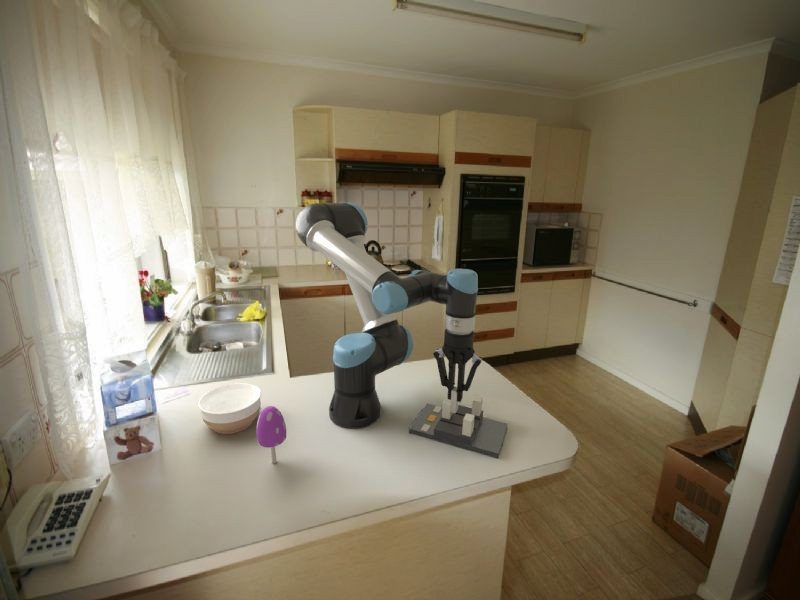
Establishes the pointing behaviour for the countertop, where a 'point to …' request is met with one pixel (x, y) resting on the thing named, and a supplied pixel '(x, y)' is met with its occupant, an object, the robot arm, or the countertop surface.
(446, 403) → the handle
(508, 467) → the countertop surface
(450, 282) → the robot arm
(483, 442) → the panel
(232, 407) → the bowl
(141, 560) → the countertop surface
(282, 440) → the toy
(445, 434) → the breaker housings
